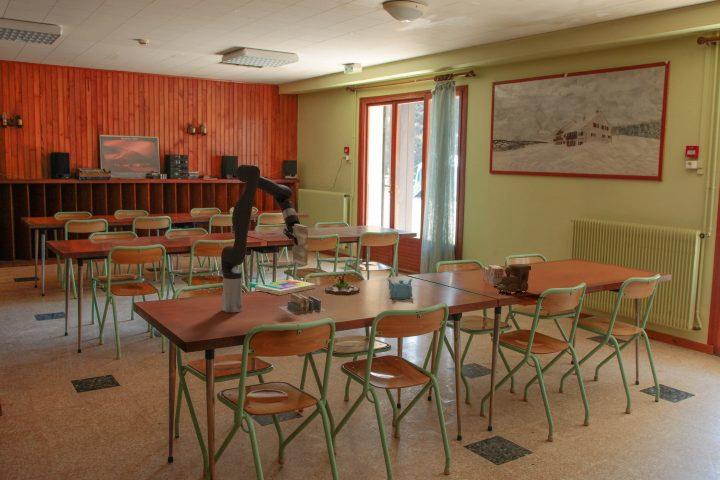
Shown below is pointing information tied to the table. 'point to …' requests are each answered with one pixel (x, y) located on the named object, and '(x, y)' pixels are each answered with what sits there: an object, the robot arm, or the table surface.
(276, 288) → the puzzle game
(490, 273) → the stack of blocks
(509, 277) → the wooden toy train
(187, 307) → the table surface
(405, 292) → the teapot
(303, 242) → the birch panel
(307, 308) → the pine offcuts
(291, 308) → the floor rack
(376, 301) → the table surface
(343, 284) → the plant
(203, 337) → the table surface
